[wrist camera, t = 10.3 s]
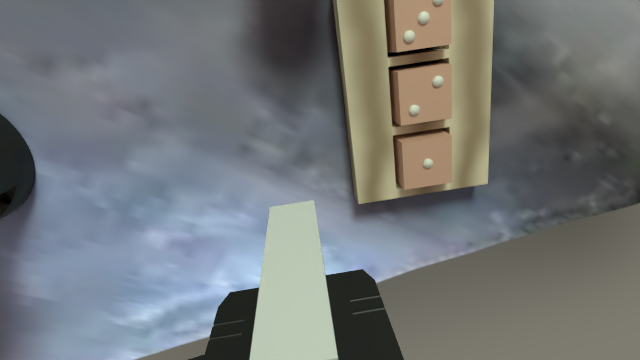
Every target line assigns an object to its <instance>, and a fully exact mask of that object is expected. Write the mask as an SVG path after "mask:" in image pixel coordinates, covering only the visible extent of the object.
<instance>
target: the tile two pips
mask: <svg viewBox="0 0 640 360" xmlns="http://www.w3.org/2000/svg"><path fill="white" fill-rule="evenodd" d="M388 71H389V86H390V101H391V116H392V120H393V121H394V122H396V123H397V124H399V125H400V126H404V125H410V124H417V123H423V122H430V121H436V120H443V119H449V118H452V64H445V63H430V64H423V65H416V66H410V67H403V68H396V69H390V70H388Z"/></svg>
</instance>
